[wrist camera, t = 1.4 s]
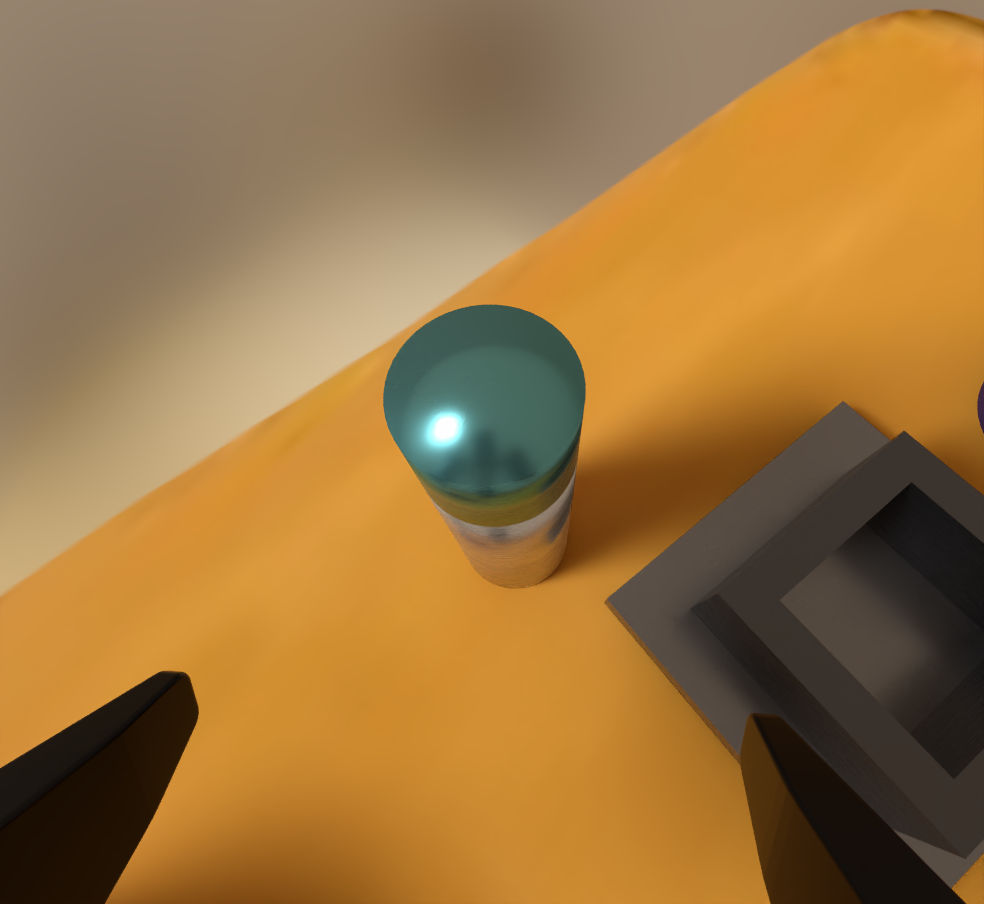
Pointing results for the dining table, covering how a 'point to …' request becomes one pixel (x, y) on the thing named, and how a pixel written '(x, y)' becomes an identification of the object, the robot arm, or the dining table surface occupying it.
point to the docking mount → (840, 624)
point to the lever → (981, 407)
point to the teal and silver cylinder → (493, 434)
